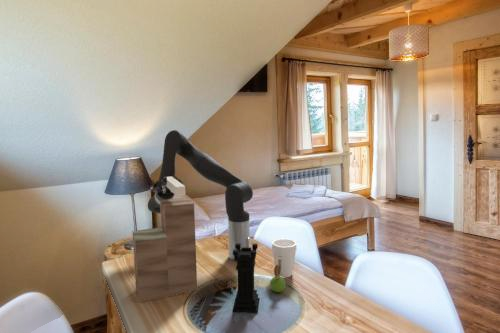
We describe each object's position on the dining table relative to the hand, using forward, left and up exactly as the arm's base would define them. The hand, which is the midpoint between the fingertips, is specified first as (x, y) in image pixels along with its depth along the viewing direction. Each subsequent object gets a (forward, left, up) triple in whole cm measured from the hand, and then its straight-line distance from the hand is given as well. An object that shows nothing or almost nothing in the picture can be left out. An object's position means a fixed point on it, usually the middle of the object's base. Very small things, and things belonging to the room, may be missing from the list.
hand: (170, 179), depth 130 cm
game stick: (-3, +5, -3) cm, 6 cm away
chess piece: (-30, +18, -39) cm, 52 cm away
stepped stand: (0, +10, -39) cm, 40 cm away
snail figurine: (-40, +7, -39) cm, 56 cm away
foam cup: (-42, -6, -39) cm, 58 cm away
